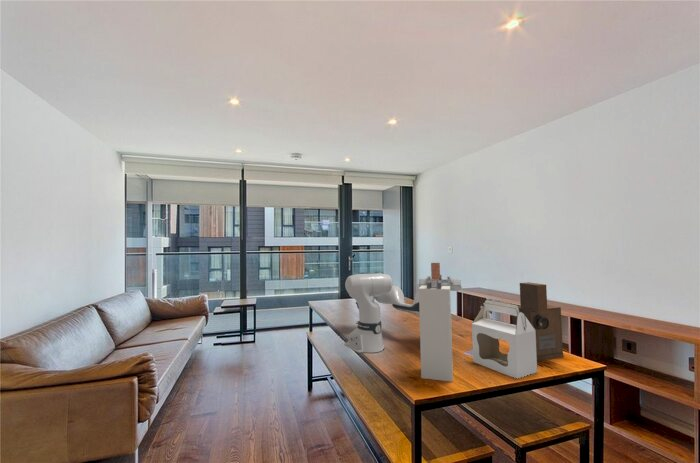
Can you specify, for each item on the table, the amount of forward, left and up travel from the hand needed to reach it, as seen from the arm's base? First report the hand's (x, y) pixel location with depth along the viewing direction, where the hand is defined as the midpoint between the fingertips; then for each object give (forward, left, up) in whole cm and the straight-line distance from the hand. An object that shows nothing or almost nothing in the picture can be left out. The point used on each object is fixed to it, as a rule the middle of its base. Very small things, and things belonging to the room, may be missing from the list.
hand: (438, 277), depth 153 cm
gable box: (+26, +8, -38) cm, 47 cm away
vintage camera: (+32, +32, -38) cm, 59 cm away
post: (+11, -20, -38) cm, 44 cm away
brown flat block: (+6, -11, -2) cm, 12 cm away
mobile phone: (+9, +19, -38) cm, 44 cm away
